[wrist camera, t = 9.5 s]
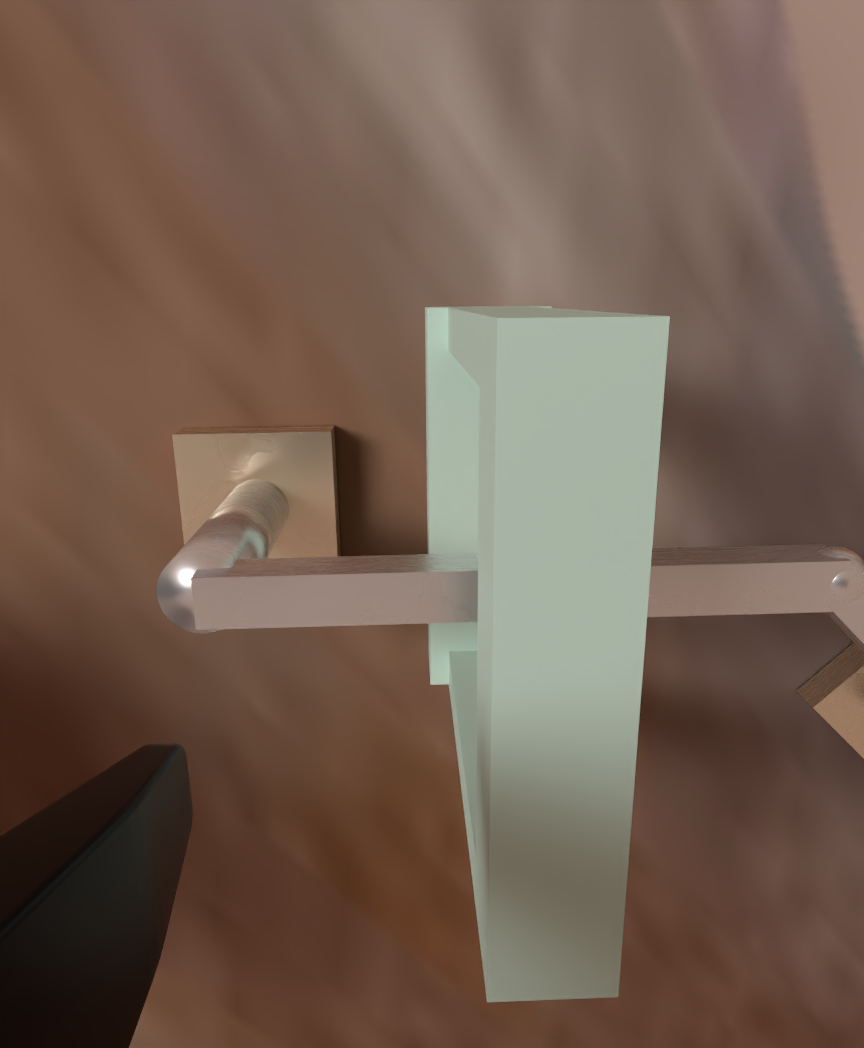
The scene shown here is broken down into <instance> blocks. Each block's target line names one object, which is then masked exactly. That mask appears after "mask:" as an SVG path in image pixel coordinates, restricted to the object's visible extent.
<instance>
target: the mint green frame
mask: <svg viewBox="0 0 864 1048" xmlns="http://www.w3.org/2000/svg"><path fill="white" fill-rule="evenodd" d="M669 320H670V316H656V315H642V314H628V313H614V312H599V311H585V310H571V309H556V308H552V307H551V306H477V307H425V344H426V437H427V529H428V554H457V553H478V622H458V623H429V668H430V682H431V685H436V684H449V690H450V698H451V706H452V715H453V723H454V731H455V740H456V748H457V756H458V764H459V773H460V781H461V789H462V798H463V806H464V814H465V823H466V831H467V839H468V848H469V856H470V864H471V872H472V881H473V889H474V897H475V906H476V914H477V922H478V931H479V939H480V947H481V956H482V964H483V972H484V980H485V989H486V997H487V1002H508V1001H533V1000H559V999H584V998H610V997H618V993H619V980H620V967H621V954H622V941H623V927H624V914H625V901H626V888H627V875H628V861H629V848H630V835H631V822H632V809H633V795H634V782H635V769H636V756H637V743H638V729H639V716H640V703H641V690H642V677H643V663H644V650H645V637H646V624H647V611H648V597H649V584H650V571H651V558H652V545H653V531H654V518H655V505H656V492H657V479H658V466H659V452H660V439H661V426H662V413H663V400H664V386H665V373H666V360H667V347H668V334H669Z"/></svg>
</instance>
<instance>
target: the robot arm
mask: <svg viewBox="0 0 864 1048" xmlns="http://www.w3.org/2000/svg"><path fill="white" fill-rule="evenodd" d="M191 825H192V800H191V792H190V783H189V775H188V766H187V758H186V753H185V750H184V748H183V747H182V746H181V745H179V744H149V745H145V746H143V747H141V748H139V749H138V750H136V751H135V752H133V753H132V754H130V755H128V756H127V757H125V758H124V759H122V760H120V761H119V762H117V763H116V764H114V765H112V766H111V767H109V768H108V769H106V770H105V771H103V772H101V773H100V774H98V775H97V776H95V777H93V778H92V779H90V780H89V781H87V782H85V783H84V784H82V785H81V786H79V787H77V788H76V789H74V790H73V791H71V792H70V793H68V794H66V795H65V796H63V797H62V798H60V799H58V800H57V801H55V802H54V803H52V804H50V805H49V806H47V807H46V808H44V809H42V810H41V811H39V812H38V813H36V814H35V815H33V816H31V817H30V818H28V819H27V820H25V821H23V822H22V823H20V824H19V825H17V826H15V827H14V828H12V829H11V830H9V831H7V832H6V833H4V834H3V835H1V836H0V1048H129V1046H130V1043H131V1040H132V1037H133V1035H134V1032H135V1029H136V1026H137V1023H138V1021H139V1018H140V1015H141V1012H142V1009H143V1007H144V1004H145V1001H146V998H147V995H148V993H149V990H150V987H151V984H152V981H153V978H154V975H155V972H156V969H157V966H158V963H159V960H160V956H161V952H162V949H163V945H164V941H165V937H166V933H167V929H168V924H169V920H170V916H171V912H172V907H173V903H174V899H175V895H176V890H177V886H178V882H179V878H180V873H181V869H182V865H183V861H184V856H185V852H186V848H187V844H188V839H189V835H190V831H191Z"/></svg>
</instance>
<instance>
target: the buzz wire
mask: <svg viewBox="0 0 864 1048" xmlns="http://www.w3.org/2000/svg"><path fill="white" fill-rule="evenodd" d="M172 437H173V446H174V455H175V464H176V473H177V482H178V491H179V500H180V509H181V518H182V527H183V536H184V546H183V548H182V549H181V550H180V551H179V552H178V553H177V554H176V556H175V557H174V558H173V559H172V560H171V561H170V562H169V564H168V565H167V566H166V567H165V568H164V570H163V571H162V573H161V574H160V577H159V579H158V583H157V598H158V602H159V605H160V607H161V609H162V611H163V613H164V614H165V615H166V617H167V618H168V619H169V620H170V621H171V622H172V623H174V624H175V625H177V626H178V627H180V628H182V629H184V630H187V631H190V632H193V633H204V634H205V633H213V632H217V631H219V630H222V629H245V628H280V627H316V626H351V625H387V624H422V623H458V622H478V553H457V554H417V555H378V556H341V547H340V527H339V507H338V487H337V467H336V447H335V428H334V425H323V426H272V427H222V428H183V429H181V430H179V431H178V432H176V433H174V434H173V435H172ZM813 612H826V613H827V614H828V616H829V617H830V618H831V619H832V620H833V621H834V622H835V623H836V624H837V625H838V626H839V627H840V628H841V629H842V630H843V631H844V632H845V633H846V635H847V636H848V637H849V638H850V639H851V640H852V641H853V642H854V643H853V644H851V645H850V646H849V647H848V648H847V649H845V650H844V651H843V652H842V653H841V654H839V655H838V656H837V657H836V658H835V659H834V660H832V661H831V662H830V663H829V664H828V665H826V666H825V667H824V668H823V669H822V670H820V671H819V672H818V673H817V674H816V675H815V676H813V677H812V678H811V679H810V680H809V681H807V682H806V683H805V684H804V685H803V686H801V687H800V688H799V689H798V690H797V692H798V693H799V694H800V695H801V696H802V697H803V698H804V699H805V700H806V701H807V702H808V703H809V704H810V705H811V706H812V707H813V708H814V709H815V710H816V711H817V712H818V713H819V714H820V715H821V716H822V717H823V718H824V719H825V720H826V721H827V722H828V723H829V724H830V725H831V726H832V727H833V728H834V729H835V730H836V731H837V732H838V733H839V734H840V735H841V736H842V737H843V738H844V740H845V741H846V742H847V743H848V744H849V745H850V746H851V747H852V748H853V749H854V750H855V751H856V752H857V753H858V754H859V755H860V756H861V757H862V758H863V759H864V561H863V559H862V558H861V557H860V556H859V555H858V554H856V553H855V552H854V551H852V550H850V549H847V548H845V547H840V546H825V545H824V544H813V545H773V546H733V547H694V548H654V549H652V558H651V571H650V584H649V597H648V611H647V617H671V616H707V615H742V614H778V613H813Z"/></svg>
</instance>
